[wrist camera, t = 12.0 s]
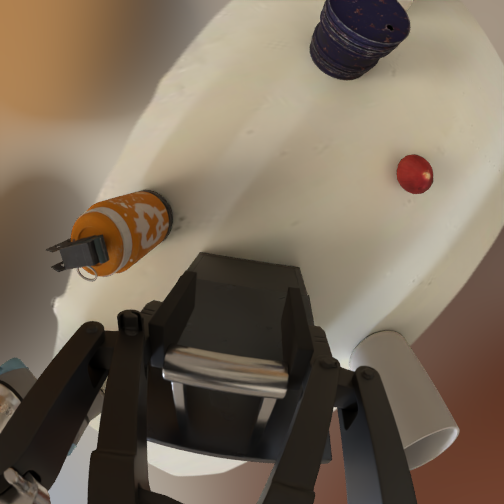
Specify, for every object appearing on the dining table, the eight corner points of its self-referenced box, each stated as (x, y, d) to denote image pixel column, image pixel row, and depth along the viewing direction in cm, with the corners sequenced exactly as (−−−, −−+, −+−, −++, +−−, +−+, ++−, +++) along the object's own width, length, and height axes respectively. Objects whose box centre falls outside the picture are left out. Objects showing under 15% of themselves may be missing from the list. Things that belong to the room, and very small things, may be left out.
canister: (179, 240, 42) (118, 297, 23) (122, 249, 43) (48, 302, 24) (167, 184, 39) (91, 204, 20) (110, 199, 40) (24, 227, 21)
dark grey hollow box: (276, 362, 49) (277, 400, 39) (194, 350, 49) (180, 385, 39) (299, 267, 42) (308, 296, 33) (199, 252, 42) (181, 276, 33)
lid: (328, 463, 14) (388, 401, 10) (107, 427, 14) (66, 348, 10) (307, 300, 33) (325, 236, 29) (180, 280, 33) (182, 214, 29)
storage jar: (295, 46, 32) (307, -5, 17) (339, 20, 29) (365, -28, 15) (340, 92, 34) (376, 58, 19) (381, 64, 31) (425, 29, 17)
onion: (423, 170, 36) (451, 173, 29) (407, 198, 38) (433, 206, 30) (399, 147, 35) (425, 146, 28) (382, 176, 37) (406, 179, 30)
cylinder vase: (363, 325, 45) (414, 433, 21) (414, 331, 45) (473, 420, 22) (339, 374, 49) (365, 479, 25) (388, 377, 49) (426, 467, 25)
